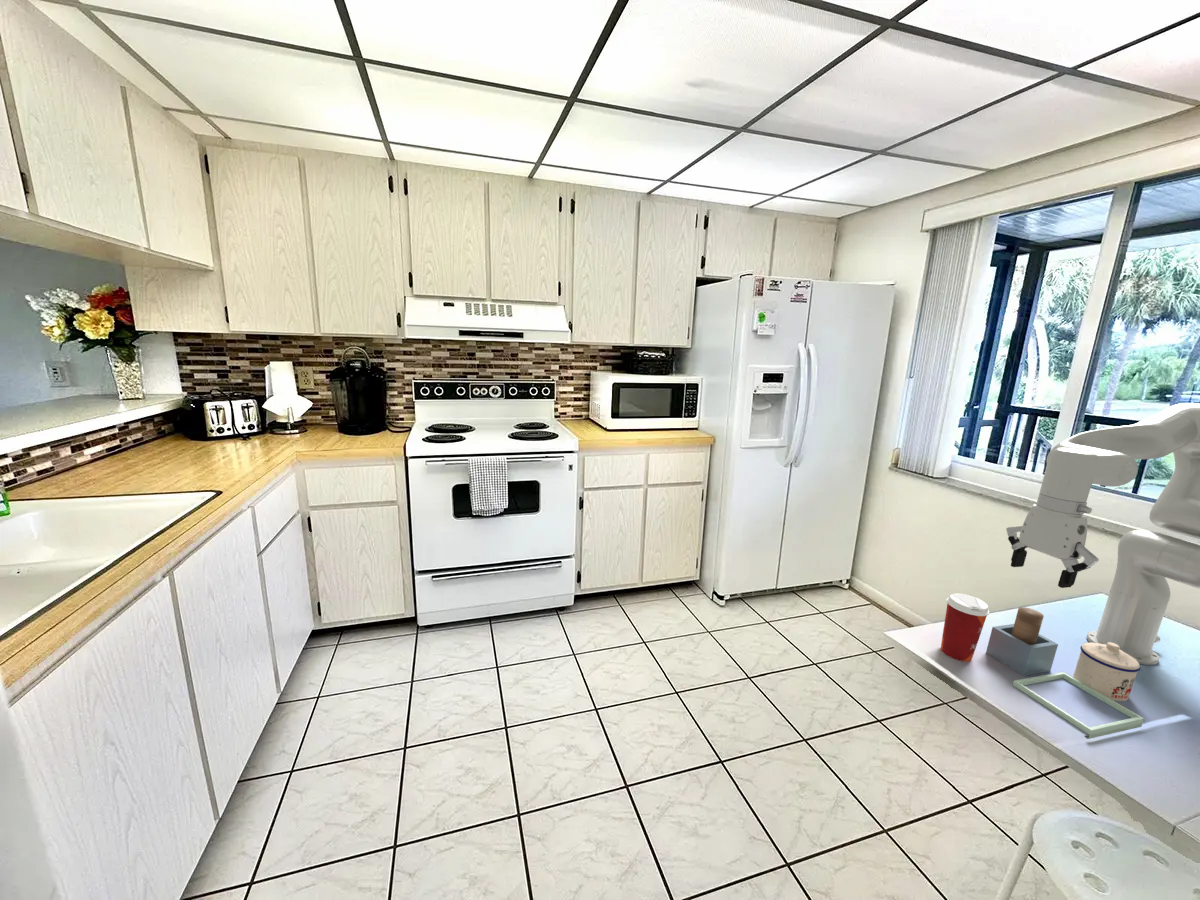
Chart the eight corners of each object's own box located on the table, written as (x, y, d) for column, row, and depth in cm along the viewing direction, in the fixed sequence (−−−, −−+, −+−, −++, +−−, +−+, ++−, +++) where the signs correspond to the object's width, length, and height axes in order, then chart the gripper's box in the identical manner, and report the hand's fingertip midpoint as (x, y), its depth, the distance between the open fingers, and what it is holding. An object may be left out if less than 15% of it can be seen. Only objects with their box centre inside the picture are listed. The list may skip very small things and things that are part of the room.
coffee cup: (984, 670, 111) (999, 612, 108) (944, 664, 112) (958, 607, 109) (964, 648, 119) (978, 594, 116) (928, 643, 120) (940, 589, 117)
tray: (1060, 679, 109) (1063, 671, 109) (1141, 726, 96) (1144, 718, 96) (1011, 688, 105) (1013, 680, 105) (1088, 738, 92) (1091, 730, 92)
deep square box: (1010, 652, 119) (1018, 623, 117) (1049, 674, 111) (1058, 644, 109) (985, 656, 116) (992, 626, 115) (1022, 679, 109) (1030, 648, 107)
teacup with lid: (1120, 711, 100) (1136, 662, 97) (1063, 683, 108) (1077, 638, 105) (1139, 693, 106) (1155, 647, 103) (1084, 668, 113) (1098, 625, 111)
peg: (1014, 654, 116) (1027, 606, 113) (1034, 666, 112) (1048, 616, 109) (1000, 656, 115) (1013, 608, 112) (1020, 668, 111) (1034, 618, 108)
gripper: (1122, 518, 97) (1098, 594, 101) (1029, 492, 114) (1011, 558, 117) (1096, 519, 95) (1072, 597, 99) (1005, 492, 112) (988, 560, 115)
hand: (1039, 576), depth 108 cm, fingers open, 9 cm apart
